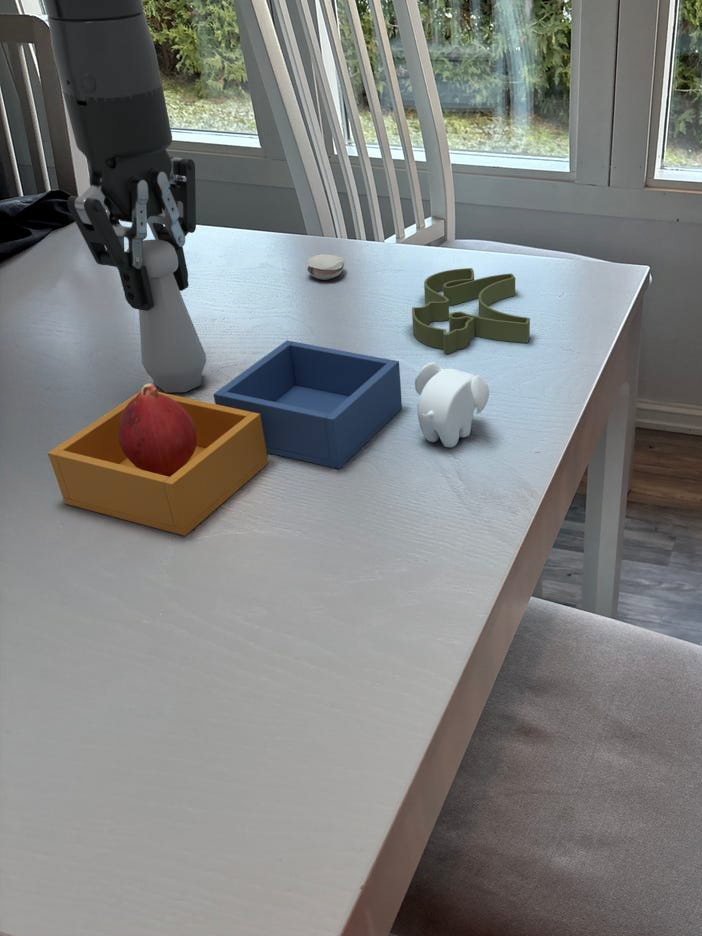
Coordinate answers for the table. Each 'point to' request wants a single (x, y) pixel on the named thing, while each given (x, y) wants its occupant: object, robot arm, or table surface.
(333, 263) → the macaroon
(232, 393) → the blue bin
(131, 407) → the red pomegranate
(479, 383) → the elephant figurine
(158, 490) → the ochre bin
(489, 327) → the cookie cutter
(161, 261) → the salt shaker
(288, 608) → the table surface
